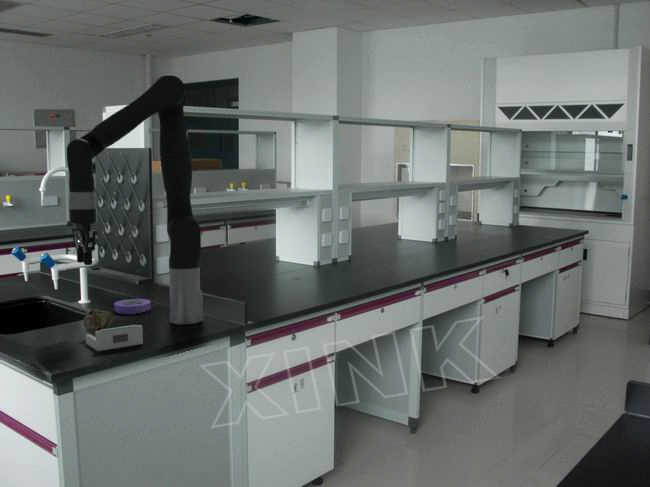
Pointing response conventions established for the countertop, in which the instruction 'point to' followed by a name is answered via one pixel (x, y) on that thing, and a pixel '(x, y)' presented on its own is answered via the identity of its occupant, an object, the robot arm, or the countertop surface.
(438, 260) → the countertop surface
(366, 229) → the countertop surface
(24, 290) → the countertop surface
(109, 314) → the mineral rock
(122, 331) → the dock
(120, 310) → the masking tape
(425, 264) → the countertop surface
